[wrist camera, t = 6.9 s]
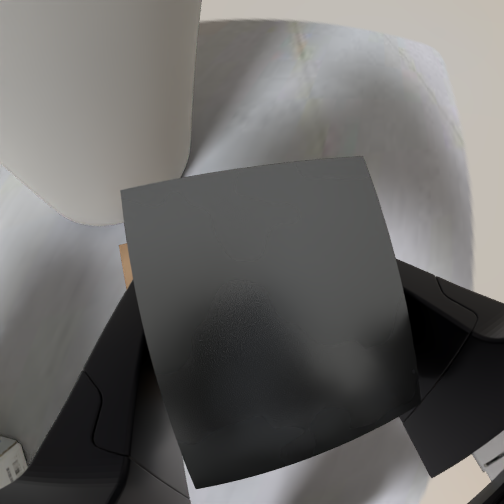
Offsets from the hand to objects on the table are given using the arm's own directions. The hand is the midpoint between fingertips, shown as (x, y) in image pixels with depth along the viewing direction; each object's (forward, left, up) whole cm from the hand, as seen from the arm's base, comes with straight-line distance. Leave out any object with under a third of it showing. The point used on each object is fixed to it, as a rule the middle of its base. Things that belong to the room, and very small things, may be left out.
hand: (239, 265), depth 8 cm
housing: (-1, 0, -7) cm, 7 cm away
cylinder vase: (+13, +3, -13) cm, 19 cm away
